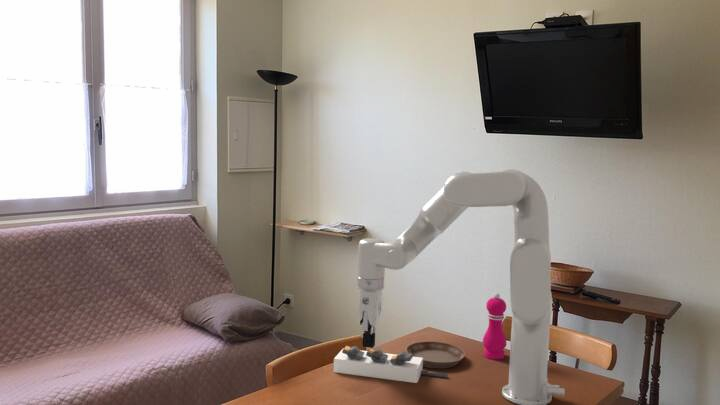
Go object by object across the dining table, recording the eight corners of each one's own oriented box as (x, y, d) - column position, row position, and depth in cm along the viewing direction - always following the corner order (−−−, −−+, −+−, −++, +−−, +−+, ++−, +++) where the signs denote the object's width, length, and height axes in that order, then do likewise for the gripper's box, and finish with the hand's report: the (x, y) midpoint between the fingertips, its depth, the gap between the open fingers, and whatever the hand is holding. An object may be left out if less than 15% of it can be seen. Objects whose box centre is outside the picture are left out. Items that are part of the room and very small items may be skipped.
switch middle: (386, 361, 174) (389, 352, 174) (383, 365, 171) (386, 357, 170) (368, 353, 175) (370, 345, 175) (365, 358, 172) (367, 349, 171)
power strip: (449, 374, 174) (449, 360, 174) (444, 386, 166) (445, 371, 165) (342, 361, 183) (343, 347, 182) (333, 372, 174) (333, 357, 174)
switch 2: (413, 359, 172) (411, 350, 172) (411, 363, 168) (408, 354, 168) (394, 362, 174) (392, 353, 173) (391, 366, 170) (389, 357, 170)
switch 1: (362, 358, 176) (365, 349, 176) (359, 362, 173) (362, 354, 172) (344, 351, 177) (347, 342, 177) (341, 355, 174) (343, 346, 173)
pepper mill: (506, 361, 186) (509, 296, 184) (481, 359, 187) (484, 295, 185) (505, 353, 193) (508, 291, 191) (482, 351, 194) (484, 289, 192)
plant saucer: (463, 352, 194) (464, 343, 193) (465, 373, 176) (465, 363, 176) (407, 348, 196) (408, 339, 196) (403, 369, 179) (404, 358, 178)
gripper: (377, 290, 163) (375, 357, 165) (389, 278, 177) (387, 339, 179) (350, 287, 165) (348, 353, 167) (364, 276, 179) (362, 336, 181)
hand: (368, 346), depth 173 cm, fingers closed
